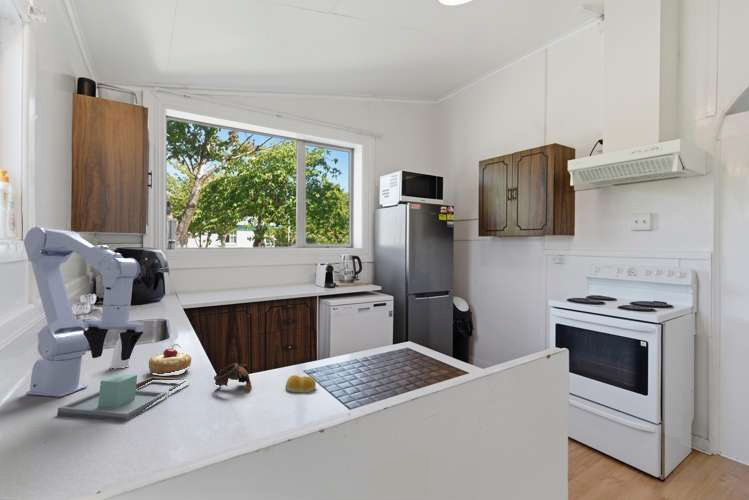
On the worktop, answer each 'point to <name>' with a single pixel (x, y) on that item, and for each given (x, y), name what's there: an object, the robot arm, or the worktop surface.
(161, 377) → the dark bent strip
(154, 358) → the pastry
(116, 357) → the salt shaker
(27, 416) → the worktop surface
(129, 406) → the grey tray
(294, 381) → the bread roll
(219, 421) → the worktop surface
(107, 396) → the teal block
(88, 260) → the robot arm
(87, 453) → the worktop surface
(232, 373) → the brown piece
